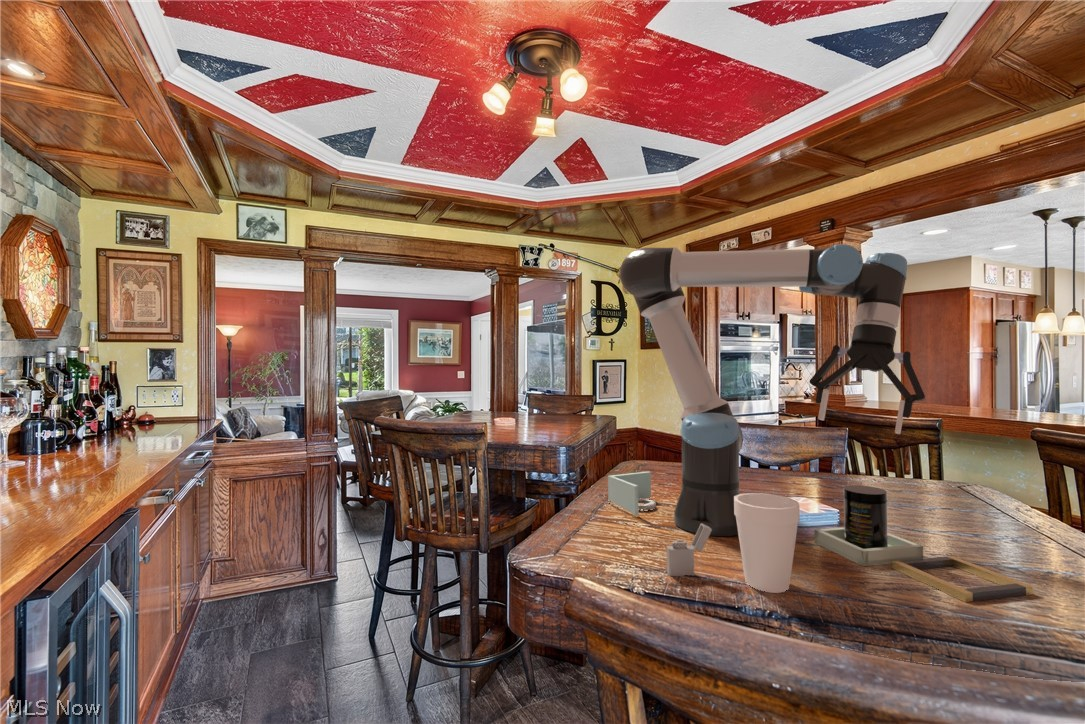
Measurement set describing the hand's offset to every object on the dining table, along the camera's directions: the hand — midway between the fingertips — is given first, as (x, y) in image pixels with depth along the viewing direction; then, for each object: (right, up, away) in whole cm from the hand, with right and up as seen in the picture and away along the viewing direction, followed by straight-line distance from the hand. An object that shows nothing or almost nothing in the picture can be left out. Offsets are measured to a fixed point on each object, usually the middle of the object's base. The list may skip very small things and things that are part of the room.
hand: (857, 426), depth 102 cm
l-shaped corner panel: (-41, -23, +18) cm, 50 cm away
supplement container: (-6, -21, -12) cm, 25 cm away
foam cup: (-30, -22, -25) cm, 45 cm away
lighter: (-41, -22, -21) cm, 51 cm away
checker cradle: (0, -21, -25) cm, 32 cm away
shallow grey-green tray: (-6, -21, -12) cm, 25 cm away
